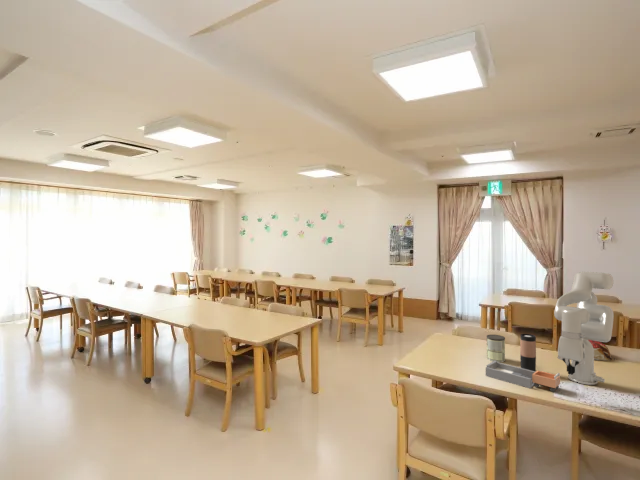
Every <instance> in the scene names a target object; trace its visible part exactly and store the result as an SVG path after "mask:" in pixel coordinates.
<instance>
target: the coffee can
mask: <svg viewBox="0 0 640 480" xmlns="http://www.w3.org/2000/svg"><path fill="white" fill-rule="evenodd" d="M486 360H489V361H491V362H493V361H497V362H499V363H504V362H505V361H506V337H505V336H503V335H500V334H487V335H486Z"/></svg>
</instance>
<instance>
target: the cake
mask: <svg viewBox="0 0 640 480" xmlns="http://www.w3.org/2000/svg"><path fill="white" fill-rule="evenodd" d="M588 341H589V342H590V343H591V344H592V346H593V348H594V361H605V362H607V361H612V360H613V361H615V357H613V358H612V355H611V353H610V350H609V347H608V346H607V345H606V344H604V342H600V341H594V340H588ZM616 360H617V358H616Z"/></svg>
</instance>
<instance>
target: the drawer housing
mask: <svg viewBox="0 0 640 480" xmlns="http://www.w3.org/2000/svg"><path fill="white" fill-rule="evenodd" d="M535 372H536V371H531V370H527V369H523V368H521V367H520V366H515V365H510V364H506V363H504V362H497V361H491V362H490V363H488V364H486V367H485V376H486V377H489V378H492V379H496V380H500V381H502V382H507V383H511V384H513V385H517V386H520V387H525V388H528V389H532V388H533V387H535V386H534V382H532V374H533V373H535Z"/></svg>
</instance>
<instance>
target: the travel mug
mask: <svg viewBox="0 0 640 480" xmlns="http://www.w3.org/2000/svg"><path fill="white" fill-rule="evenodd" d="M519 346H520V353H519V354H520V356H519V357H520V368H523V369H527V370H531V371H535V372H536V371H537V369H536V367H537V364H536V363H537V337H536V335H534V334H531V333H521V334H520V345H519Z"/></svg>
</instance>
